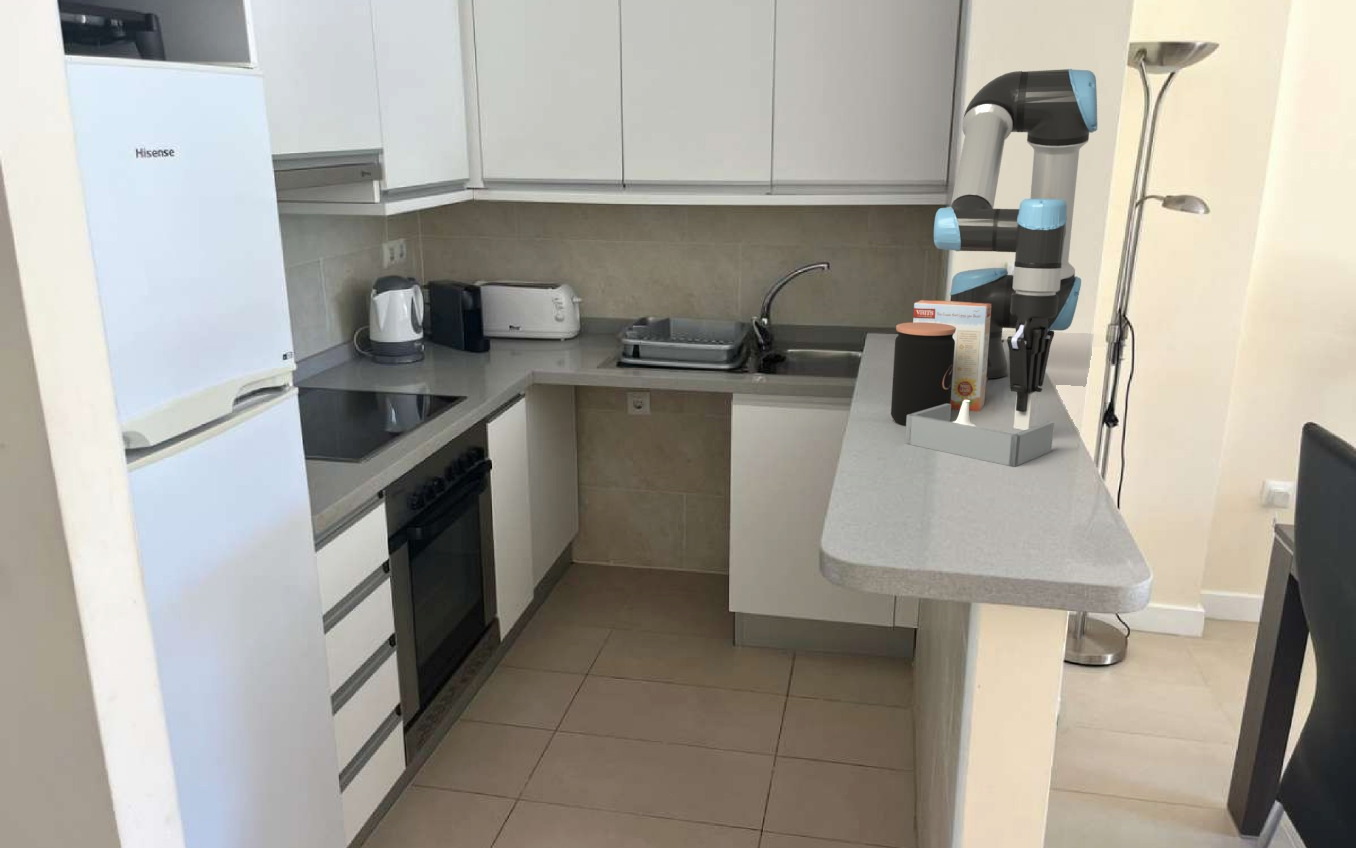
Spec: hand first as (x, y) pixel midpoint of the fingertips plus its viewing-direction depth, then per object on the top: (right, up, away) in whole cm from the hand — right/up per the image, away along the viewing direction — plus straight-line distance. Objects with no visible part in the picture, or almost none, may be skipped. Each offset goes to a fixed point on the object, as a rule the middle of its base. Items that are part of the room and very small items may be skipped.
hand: (1022, 428), depth 174 cm
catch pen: (-9, -3, -4) cm, 11 cm away
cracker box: (-6, +4, +26) cm, 27 cm away
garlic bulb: (-11, -3, -3) cm, 12 cm away
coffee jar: (-15, +1, +13) cm, 20 cm away
